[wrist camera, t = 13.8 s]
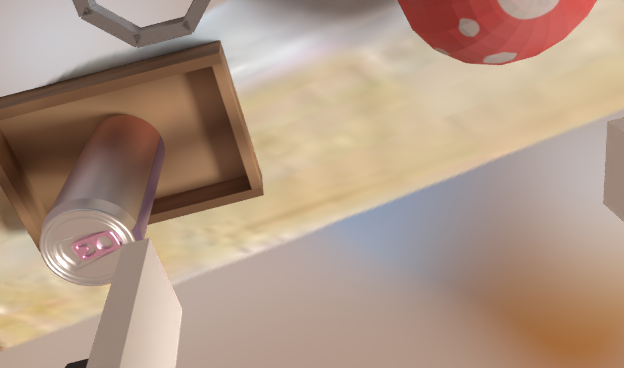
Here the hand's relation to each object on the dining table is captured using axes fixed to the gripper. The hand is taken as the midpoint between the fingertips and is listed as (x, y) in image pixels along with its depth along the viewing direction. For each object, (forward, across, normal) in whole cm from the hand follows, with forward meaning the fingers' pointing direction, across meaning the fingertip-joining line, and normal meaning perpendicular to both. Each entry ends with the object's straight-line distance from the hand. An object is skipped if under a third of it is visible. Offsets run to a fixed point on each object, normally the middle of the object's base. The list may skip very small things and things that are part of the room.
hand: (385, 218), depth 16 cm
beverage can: (+31, -16, -8) cm, 36 cm away
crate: (+32, -16, -8) cm, 36 cm away
